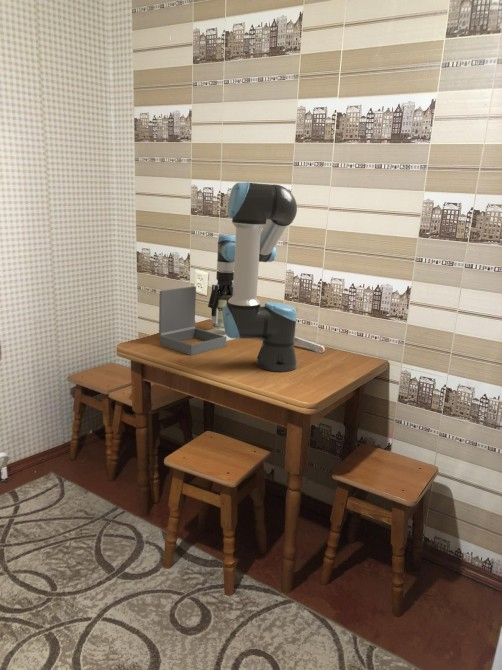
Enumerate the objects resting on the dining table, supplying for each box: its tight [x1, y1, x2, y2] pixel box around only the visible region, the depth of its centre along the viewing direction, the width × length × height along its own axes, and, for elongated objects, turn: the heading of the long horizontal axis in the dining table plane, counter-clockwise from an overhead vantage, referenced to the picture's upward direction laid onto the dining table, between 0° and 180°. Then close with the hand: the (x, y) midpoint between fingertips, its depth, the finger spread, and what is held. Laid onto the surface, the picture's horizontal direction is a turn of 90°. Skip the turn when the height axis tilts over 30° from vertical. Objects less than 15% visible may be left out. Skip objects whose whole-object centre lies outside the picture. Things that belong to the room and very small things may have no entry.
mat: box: [205, 328, 237, 342], centre depth 235 cm, size 16×16×1 cm
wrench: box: [294, 335, 326, 354], centre depth 224 cm, size 8×2×30 cm
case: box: [158, 285, 227, 356], centre depth 214 cm, size 19×20×22 cm
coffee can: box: [211, 293, 233, 329], centre depth 233 cm, size 10×10×14 cm
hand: (222, 321), depth 234 cm, fingers closed on coffee can, 10 cm apart
